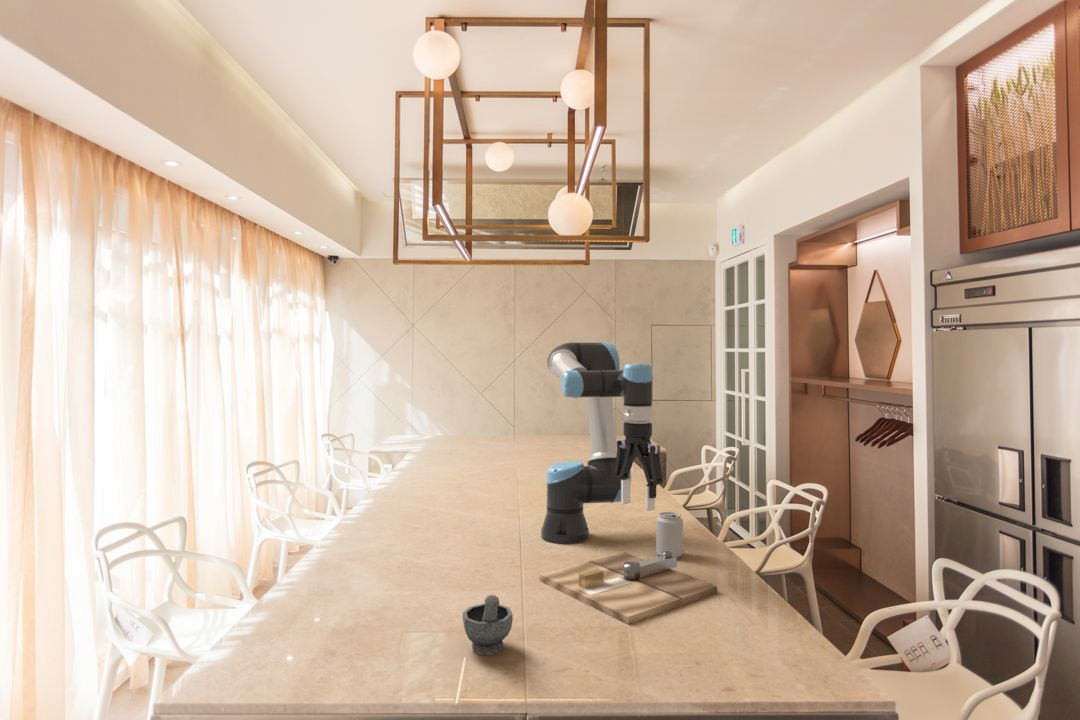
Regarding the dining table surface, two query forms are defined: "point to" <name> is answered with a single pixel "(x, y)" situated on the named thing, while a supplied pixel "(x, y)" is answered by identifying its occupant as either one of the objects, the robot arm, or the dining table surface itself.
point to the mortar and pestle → (487, 625)
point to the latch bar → (649, 566)
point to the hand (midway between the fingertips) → (637, 506)
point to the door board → (626, 588)
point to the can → (669, 533)
